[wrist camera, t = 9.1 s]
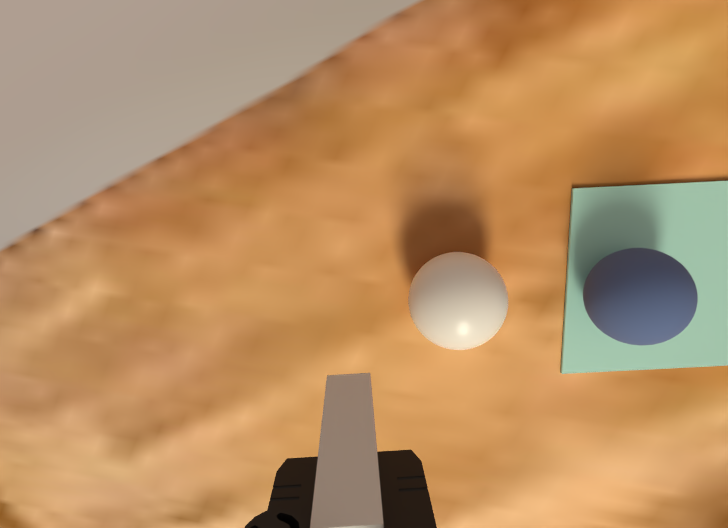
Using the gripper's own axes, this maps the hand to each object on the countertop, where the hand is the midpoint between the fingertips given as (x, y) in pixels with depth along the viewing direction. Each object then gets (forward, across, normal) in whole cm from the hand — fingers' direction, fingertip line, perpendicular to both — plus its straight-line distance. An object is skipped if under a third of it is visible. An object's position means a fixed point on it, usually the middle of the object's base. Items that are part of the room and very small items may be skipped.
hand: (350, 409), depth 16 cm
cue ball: (+10, +6, 0) cm, 12 cm away
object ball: (+10, +16, 0) cm, 19 cm away
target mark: (+12, +20, 0) cm, 23 cm away
